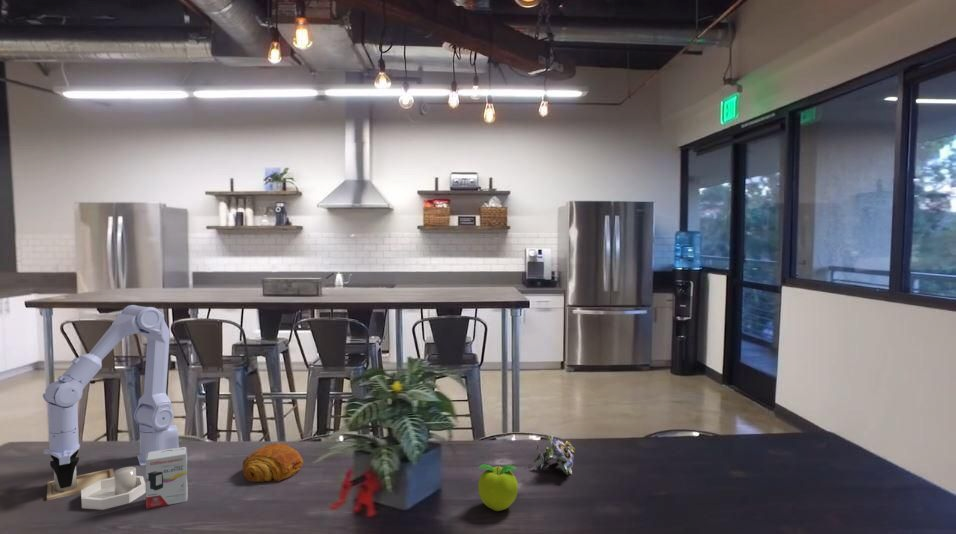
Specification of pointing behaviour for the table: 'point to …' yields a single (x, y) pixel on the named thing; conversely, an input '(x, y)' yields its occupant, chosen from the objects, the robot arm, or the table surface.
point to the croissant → (272, 463)
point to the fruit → (497, 487)
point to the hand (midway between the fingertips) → (65, 483)
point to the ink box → (166, 477)
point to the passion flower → (558, 454)
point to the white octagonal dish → (109, 494)
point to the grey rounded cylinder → (125, 480)
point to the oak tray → (79, 483)
